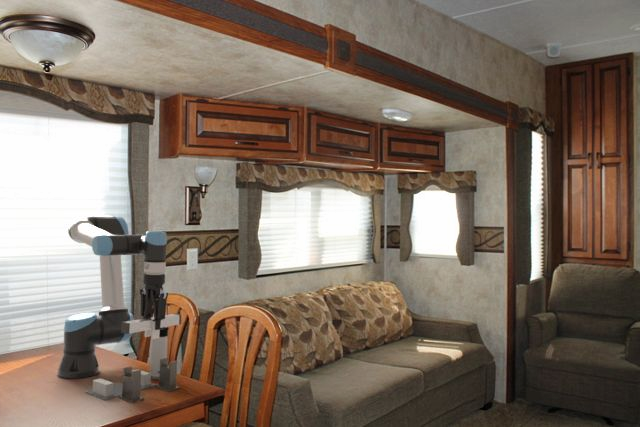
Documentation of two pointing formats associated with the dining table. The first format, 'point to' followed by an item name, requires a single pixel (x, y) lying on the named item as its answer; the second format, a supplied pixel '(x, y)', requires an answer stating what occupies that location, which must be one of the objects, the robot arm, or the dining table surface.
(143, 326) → the rail
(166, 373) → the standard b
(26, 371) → the dining table surface
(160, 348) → the travel mug
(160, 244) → the robot arm
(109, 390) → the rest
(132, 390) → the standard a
